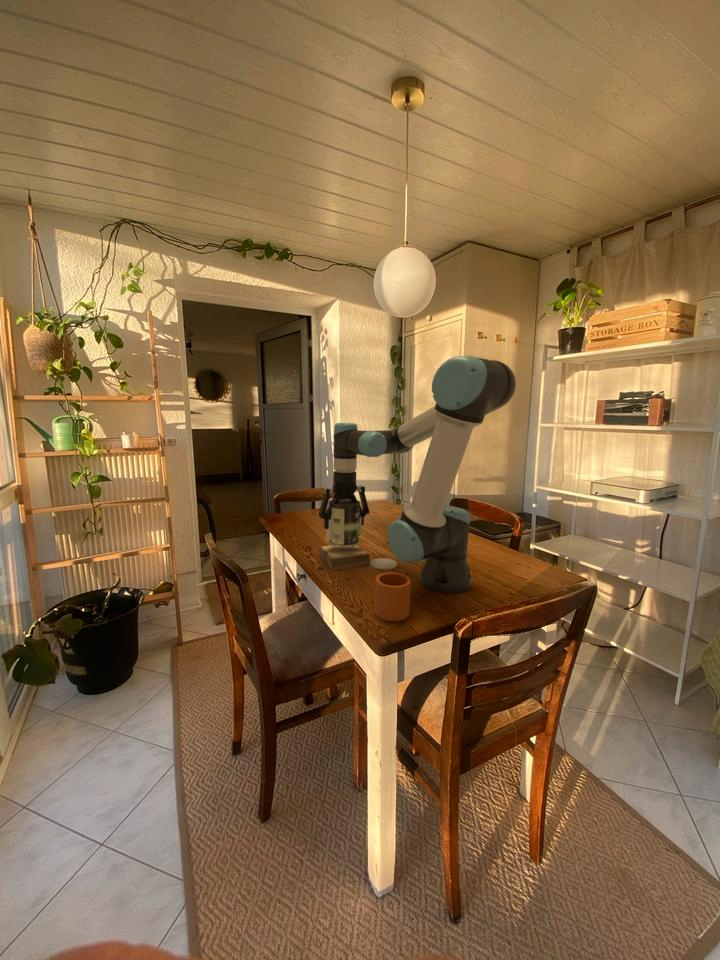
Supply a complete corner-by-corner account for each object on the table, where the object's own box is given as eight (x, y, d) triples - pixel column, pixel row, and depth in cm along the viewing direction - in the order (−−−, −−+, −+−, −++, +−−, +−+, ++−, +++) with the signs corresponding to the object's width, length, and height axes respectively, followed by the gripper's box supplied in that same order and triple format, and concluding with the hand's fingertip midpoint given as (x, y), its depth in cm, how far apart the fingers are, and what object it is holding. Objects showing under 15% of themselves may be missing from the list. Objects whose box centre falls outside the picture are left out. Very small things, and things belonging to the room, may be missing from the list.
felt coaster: (402, 567, 130) (402, 565, 130) (377, 571, 126) (377, 569, 126) (389, 557, 138) (389, 556, 138) (365, 561, 134) (365, 560, 134)
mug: (394, 596, 109) (396, 565, 108) (415, 618, 98) (418, 584, 97) (364, 601, 106) (365, 569, 105) (382, 624, 95) (384, 589, 94)
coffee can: (359, 538, 139) (360, 498, 136) (358, 548, 129) (359, 506, 126) (329, 537, 139) (330, 498, 137) (327, 547, 129) (327, 505, 126)
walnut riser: (369, 564, 132) (369, 554, 131) (332, 570, 126) (332, 559, 126) (354, 551, 143) (354, 541, 143) (319, 556, 138) (319, 546, 138)
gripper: (371, 467, 137) (369, 529, 141) (308, 470, 128) (308, 536, 132) (381, 470, 131) (379, 535, 135) (315, 474, 122) (315, 543, 126)
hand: (344, 536), depth 134 cm, fingers closed on coffee can, 10 cm apart
